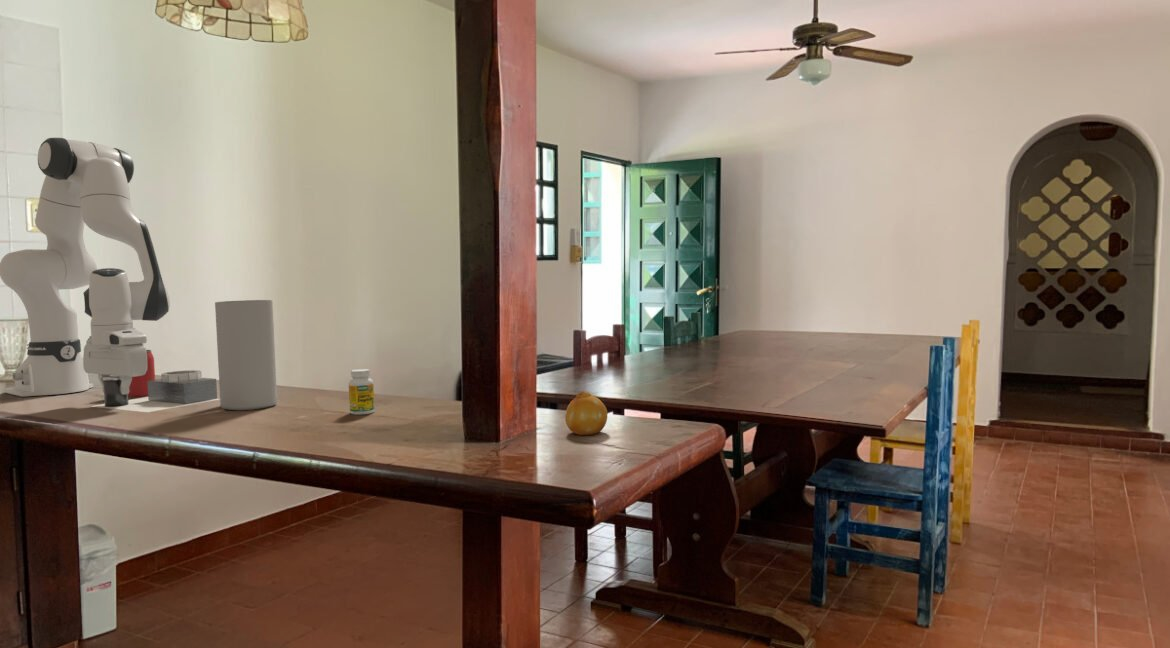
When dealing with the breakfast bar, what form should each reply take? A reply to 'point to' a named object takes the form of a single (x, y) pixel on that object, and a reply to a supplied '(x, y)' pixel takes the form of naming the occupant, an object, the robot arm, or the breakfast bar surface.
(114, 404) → the lens
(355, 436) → the breakfast bar surface
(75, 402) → the breakfast bar surface
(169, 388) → the camera body
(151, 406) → the mat
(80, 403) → the breakfast bar surface
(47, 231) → the robot arm
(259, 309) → the cylinder vase
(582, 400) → the fruit
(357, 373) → the supplement bottle
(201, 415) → the breakfast bar surface
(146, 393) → the beer can
